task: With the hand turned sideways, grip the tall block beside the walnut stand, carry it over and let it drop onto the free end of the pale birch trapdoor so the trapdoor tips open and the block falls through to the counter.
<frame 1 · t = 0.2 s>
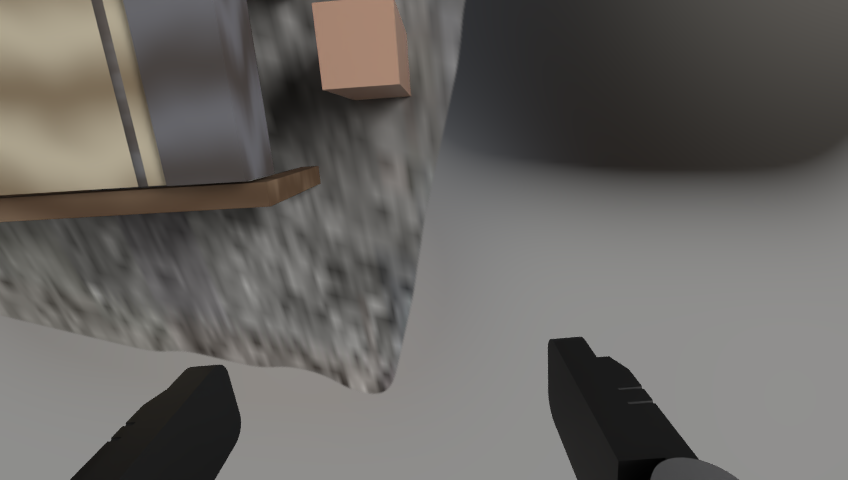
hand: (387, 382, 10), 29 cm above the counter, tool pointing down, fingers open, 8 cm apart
trapdoor: (95, 79, 25), point 11 cm above the counter, hinge at 0.0°
block: (379, 67, 35), on the counter
trapdoor frame: (170, 95, 36), on the counter
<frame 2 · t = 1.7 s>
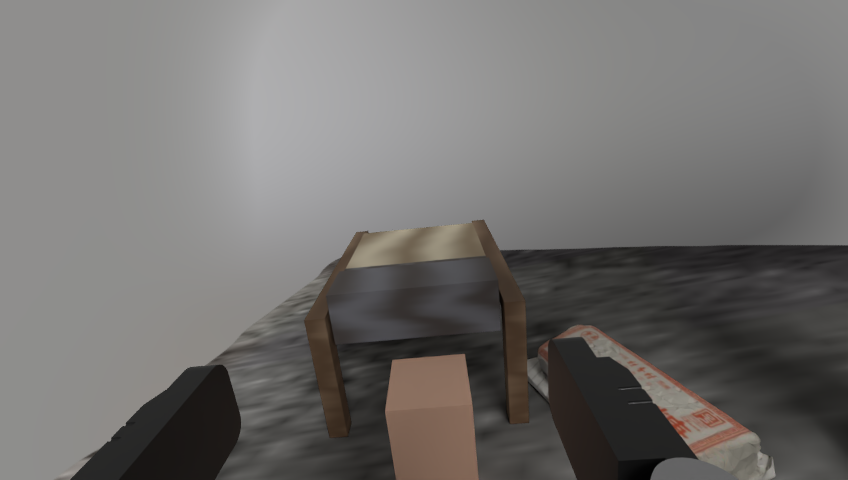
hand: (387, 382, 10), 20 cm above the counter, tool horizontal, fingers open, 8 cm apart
trapdoor: (417, 268, 41), point 11 cm above the counter, hinge at 0.0°
packaged product: (621, 418, 34), on the counter
trapdoor frame: (428, 348, 46), on the counter
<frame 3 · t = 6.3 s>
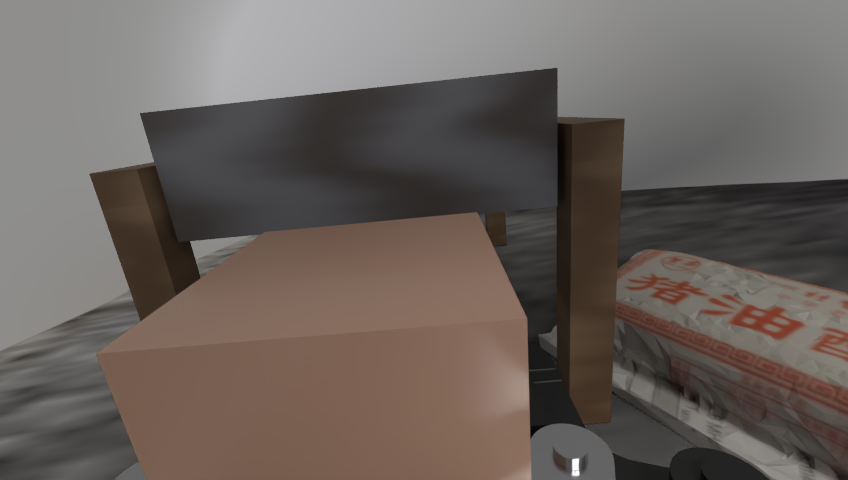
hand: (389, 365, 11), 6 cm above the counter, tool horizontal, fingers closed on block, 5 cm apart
trapdoor: (384, 141, 22), point 11 cm above the counter, hinge at 0.0°
packaged product: (791, 420, 16), on the counter
trapdoor frame: (408, 300, 28), on the counter
when the fingers open (20 cm above the counter, at t = 11.4 s): block drops 6 cm, resting on trapdoor.
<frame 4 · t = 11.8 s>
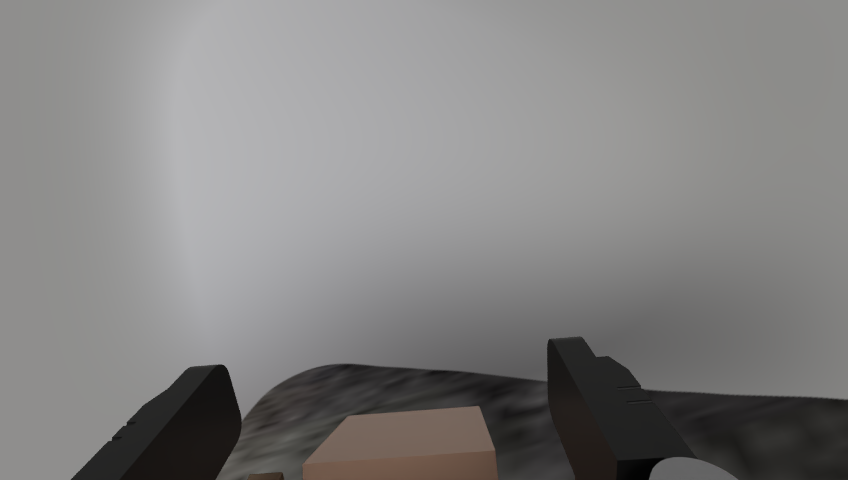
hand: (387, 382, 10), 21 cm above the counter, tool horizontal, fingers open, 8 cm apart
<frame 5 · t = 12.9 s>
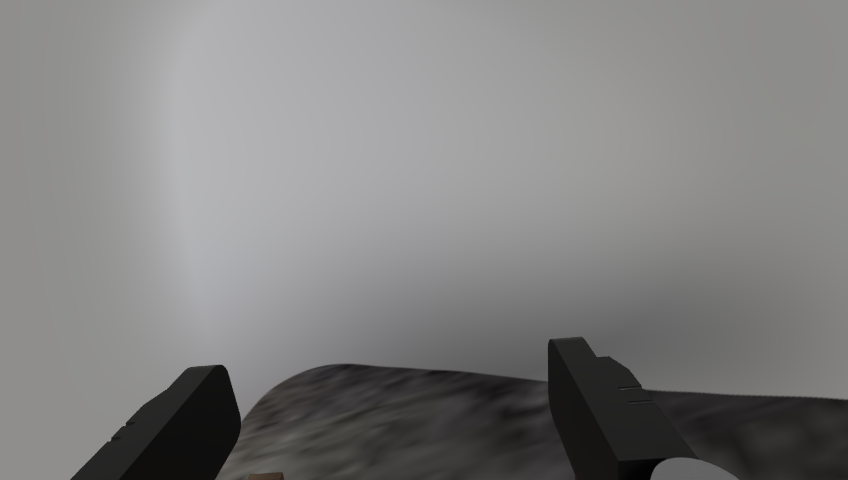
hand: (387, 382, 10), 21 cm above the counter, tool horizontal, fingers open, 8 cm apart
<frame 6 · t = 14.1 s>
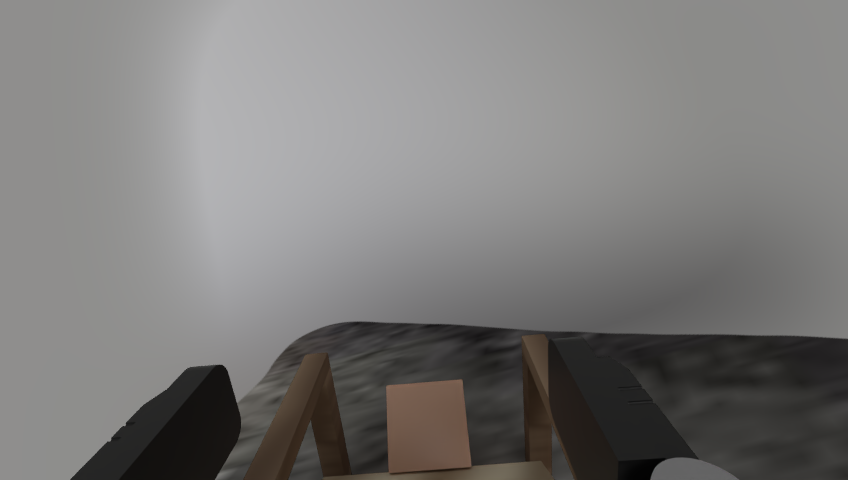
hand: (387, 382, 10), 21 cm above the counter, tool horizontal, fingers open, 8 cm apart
block: (426, 424, 25), point 9 cm above the counter, tilted 134°, touching trapdoor
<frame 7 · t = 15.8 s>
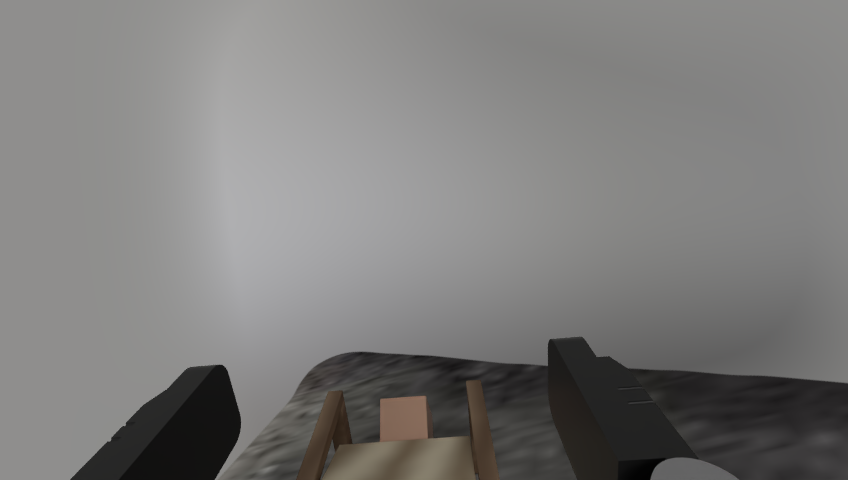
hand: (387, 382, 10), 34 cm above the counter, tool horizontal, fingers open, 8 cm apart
block: (403, 421, 43), point 9 cm above the counter, tilted 143°
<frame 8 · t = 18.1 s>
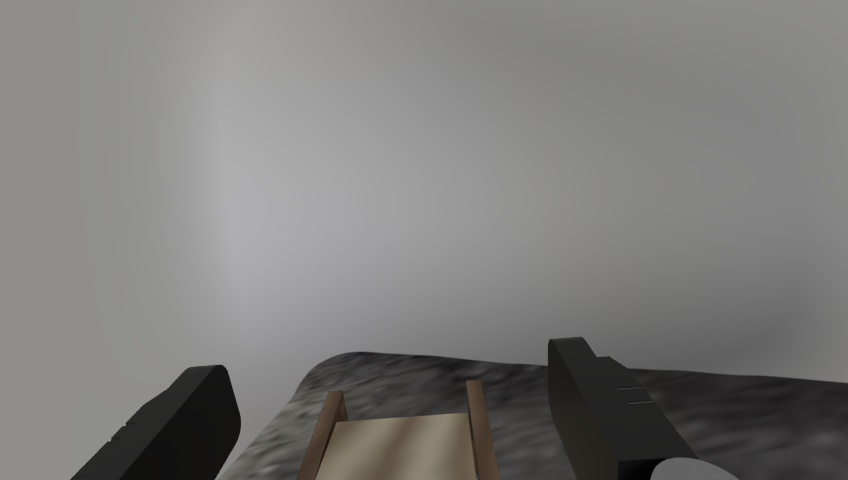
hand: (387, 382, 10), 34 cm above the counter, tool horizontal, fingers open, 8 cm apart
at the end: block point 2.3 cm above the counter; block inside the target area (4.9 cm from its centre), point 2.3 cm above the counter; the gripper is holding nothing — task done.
